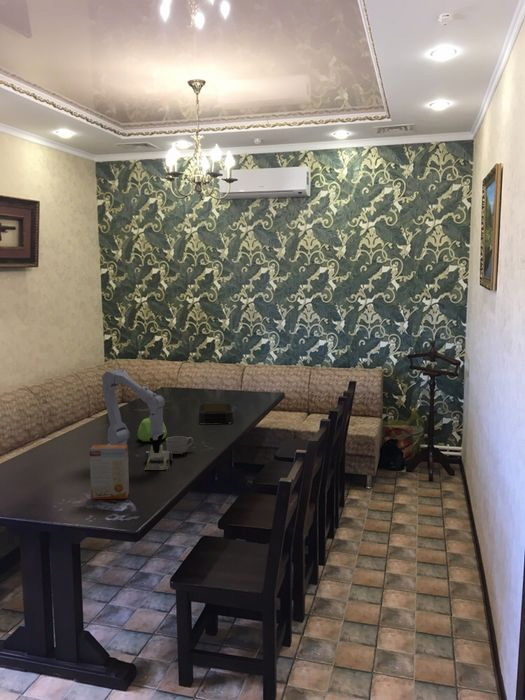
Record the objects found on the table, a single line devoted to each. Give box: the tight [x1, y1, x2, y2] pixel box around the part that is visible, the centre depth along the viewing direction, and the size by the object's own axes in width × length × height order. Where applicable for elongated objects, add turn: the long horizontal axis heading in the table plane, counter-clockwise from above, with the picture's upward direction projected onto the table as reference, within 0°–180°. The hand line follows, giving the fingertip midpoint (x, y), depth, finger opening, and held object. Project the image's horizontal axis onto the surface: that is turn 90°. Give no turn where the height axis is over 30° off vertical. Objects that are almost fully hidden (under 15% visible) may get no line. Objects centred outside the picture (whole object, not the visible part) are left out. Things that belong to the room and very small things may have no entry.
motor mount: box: [144, 450, 174, 470], centre depth 272 cm, size 13×15×6 cm
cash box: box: [198, 403, 233, 424], centre depth 360 cm, size 25×20×8 cm
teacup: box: [165, 435, 194, 455], centre depth 291 cm, size 14×11×8 cm
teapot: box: [137, 415, 168, 442], centre depth 313 cm, size 22×15×13 cm
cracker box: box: [89, 444, 130, 500], centre depth 232 cm, size 14×6×21 cm, turn 92°
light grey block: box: [150, 444, 164, 457], centre depth 268 cm, size 5×5×6 cm
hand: (157, 451), depth 268 cm, fingers closed on light grey block, 5 cm apart
